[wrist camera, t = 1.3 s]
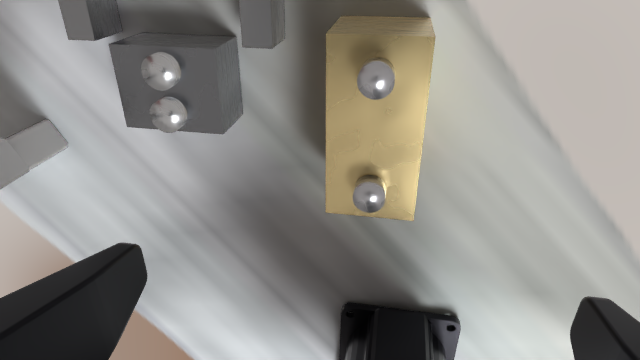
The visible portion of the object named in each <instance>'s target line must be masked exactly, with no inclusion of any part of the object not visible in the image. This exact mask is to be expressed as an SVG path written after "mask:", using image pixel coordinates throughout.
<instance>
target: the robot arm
mask: <svg viewBox="0 0 640 360" xmlns="http://www.w3.org/2000/svg"><path fill="white" fill-rule="evenodd" d="M146 282H147V270H146V266H145V262H144V258H143V254H142V250H141V248H140V246H139V245H137V244H131V243H118V244H116V245H114V246H111V247H109V248H107V249H105V250H103V251H101V252H99V253H96V254H94V255H92V256H90V257H88V258H86V259H83V260H81V261H79V262H77V263H75V264H73V265H71V266H69V267H66V268H64V269H62V270H60V271H58V272H56V273H53V274H51V275H49V276H47V277H45V278H43V279H41V280H38V281H36V282H34V283H32V284H30V285H28V286H26V287H23V288H21V289H19V290H17V291H15V292H12V293H10V294H8V295H6V296H4V297H2V298H0V360H108V359H109V358H110V356H111V354H112V352H113V351H114V349H115V347H116V345H117V343H118V341H119V339H120V338H121V336H122V333H123V331H124V329H125V327H126V325H127V323H128V321H129V319H130V317H131V314H132V312H133V310H134V308H135V306H136V304H137V302H138V300H139V298H140V295H141V293H142V291H143V289H144V287H145V285H146ZM348 311H352V312H353V313H350V312H348ZM448 325H453V326H448ZM460 330H461V328H460V321H459V319H458V318H456V317H454V316H448V315H441V314H433V313H426V312H418V311H410V310H403V309H395V308H388V307H380V306H372V305H365V304H357V303H346V304H344V305H343V307H342V312H341V334H340V359H339V360H454V357H455V352H456V348H457V343H458V339H459V334H460ZM570 339H571V344H572V349H573V354H574V358H575V360H640V322H639V321H637V320H636V319H635V318H633V317H632V316H631V315H630V314H628V313H627V312H626V311H624V310H623V309H622V308H620V307H619V306H618V305H617V304H615V303H614V302H613V301H611V300H609V299H606V298H598V297H589V296H588V297H585V298H583V299H582V301H581V302H580V305H579V308H578V310H577V313H576V315H575V318H574V321H573V323H572V326H571V330H570Z"/></svg>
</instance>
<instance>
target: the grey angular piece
mask: <svg viewBox="0 0 640 360" xmlns="http://www.w3.org/2000/svg"><path fill="white" fill-rule="evenodd" d="M66 148H68V143H67V142H66V140H65V139H64V138H63V137H62V135H61V134H60V133H59V132H58V130H57V129H56V128H55V127H54V125H53V124H52V123H51V121H49V120H46V119H45V120H43V121H41V122H39V123H37V124H35V125H33V126H31V127H28V128H26V129H24V130H22V131H20V132H18V133H16V134H14V135H12V136H10V137H8V138H6V139H3V138H0V189H2V188H3V187H5V186H7V185H8V184H10V183H11V182H13V181H14V180H16V179H18V178H19V177H21V176H22V175H24V174H26V173H27V172H29V171H30V170H31V169H33V168H34V167H36V166H38V165H39V164H41V163H43V162H44V161H46V160H48V159H49V158H51V157H53V156H54V155H56V154H58V153H59V152H61V151H63V150H64V149H66Z"/></svg>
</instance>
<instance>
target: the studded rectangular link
mask: <svg viewBox="0 0 640 360" xmlns="http://www.w3.org/2000/svg"><path fill="white" fill-rule="evenodd" d="M58 1H59V5H60V9H61V13H62V17H63V21H64V24H65V28H66V32H67V36H68V40H89V41H96V40H99V39H102V38H105V37H108V36H111V35H114V34H118V33H121V32H122V27H121V22H120V17H119V12H118V7H117V3H116V0H58ZM239 9H240V21H241V34H242V47H245V48H268V49H273V48H274V47H275V46H277V45H278V44H279V43H280V42H282V41H283V40H284V39H285V16H284V0H239ZM109 47H110V52H111V56H112V61H113V65H114V70H115V74H116V79H117V83H118V88H119V93H120V97H121V102H122V106H123V111H124V115H125V120H126V124H127V127H134V128H147V129H159V130H161V131H163V132H166V133H173V132H176V131H187V132H200V133H213V134H224V133H225V132H226V131H227V130H228V129H229V128H230V127H231V126H232V125H233V124H234V123H235V122H236V121H237V120H238V119H239V118H240V117H241V116H242V114H243V108H242V96H241V84H240V72H239V60H238V48H237V37H233V36H209V35H185V34H160V33H140V34H137V35H134V36H131V37H128V38H125V39H122V40H120V41H117V42H114V43H111V44H109Z"/></svg>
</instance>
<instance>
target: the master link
mask: <svg viewBox="0 0 640 360" xmlns="http://www.w3.org/2000/svg"><path fill="white" fill-rule="evenodd" d="M434 44H435V33H434V30H433V26H432V22H431V18H425V17H381V16H341V17H340V18H339V19H338V20H337V22H336V23H335V24H334V25H333V26H332V27H331V28H330V30H329V31H328V32H327V33H326V213H336V214H346V215H357V216H368V217H378V218H389V219H399V220H410V221H413V220H414V212H415V203H416V195H417V187H418V178H419V170H420V161H421V153H422V145H423V136H424V128H425V120H426V111H427V103H428V94H429V86H430V78H431V69H432V61H433V53H434Z"/></svg>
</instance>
